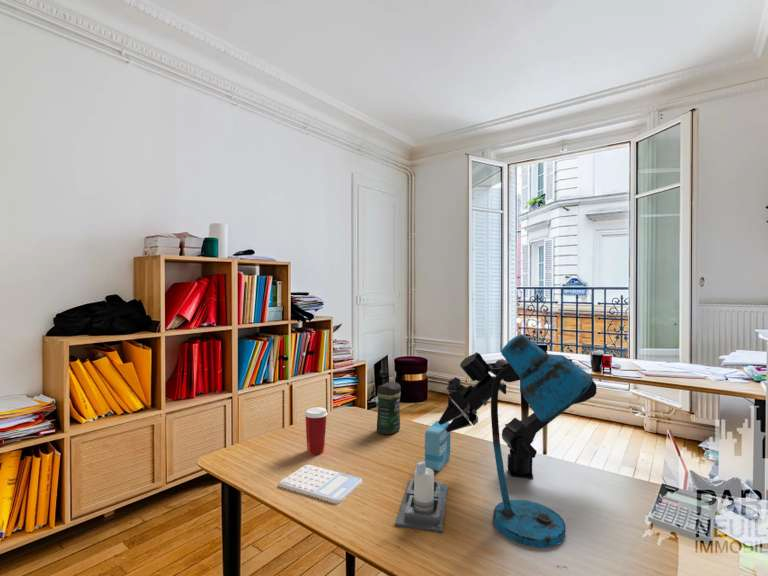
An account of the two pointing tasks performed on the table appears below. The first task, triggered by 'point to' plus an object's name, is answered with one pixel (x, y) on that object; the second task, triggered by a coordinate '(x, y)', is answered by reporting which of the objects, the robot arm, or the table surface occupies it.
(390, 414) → the coffee jar
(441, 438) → the data package
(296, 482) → the calculator
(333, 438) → the table surface
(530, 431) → the robot arm
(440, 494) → the panel
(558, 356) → the desk lamp
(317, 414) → the paper cup
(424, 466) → the plug
